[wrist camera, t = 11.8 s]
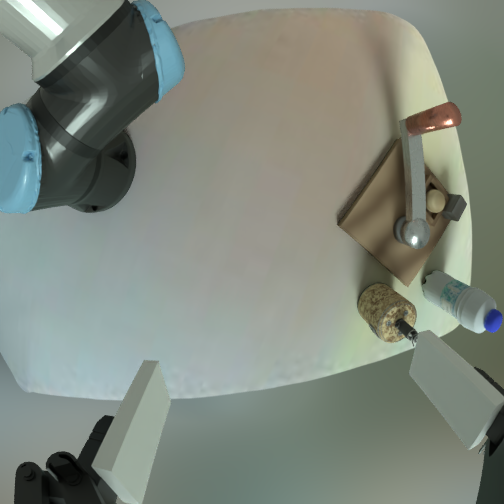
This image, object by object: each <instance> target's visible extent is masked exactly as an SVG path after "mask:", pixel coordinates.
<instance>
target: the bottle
mask: <svg viewBox="0 0 504 504" xmlns="http://www.w3.org/2000/svg"><path fill="white" fill-rule="evenodd" d="M425 279H426V283H425V284H423V285H422V289H423V291H424V297H425V298H426V299H427V300H428V301H429V302H431V303H433V304H434V305H436V306H438V307H440V308H442V309H443V310H445V311H446V312H448V313H449V314H450V315H452V316H453V317H455V318H456V319H457V320H458V322H459V323H460V324H462V325H463V327H465V328H467V329H469V330H472V331H474V332H476V333H482V332H483V331H485V330H488V331H489V332H492V333H493V332H495V331H497V330H498V329H499V327H500V325H501V323H502V314H501V313H500V312H499V311H498V310H496V303H495V300H494V299H493V298H492V297H490V296H489V295H488V294H487V293H485V292H484V291H483V290H480V289H478V288H472V287H470V286H468V285H466V284H464V283H462V282H460V281H458V280H456V279H454V278H453V277H451V276H450V275H448V274H446V273H444V272H441V271H433V272H432V274H431V275H427V276H426V277H425Z"/></svg>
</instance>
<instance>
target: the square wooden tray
mask: <svg viewBox="0 0 504 504" xmlns="http://www.w3.org/2000/svg"><path fill="white" fill-rule="evenodd" d="M424 170H425V191H426V193H427V192H428V191H430V190H434V189H435V190H438V191H440V192H441V193H442V194H443V195H444V197H445V206H444V208H443V210H442V211H440V212H438V213H433V212H431V211H429V210H428V209H427V208H426V222H427V223H428V225H429V227H430V238H429V241H428V243H427V244H426V245H425V246H424V247H423V248H421V249H415V248H412V247H410V246H407V245H405V244H404V243H403V241H402V239H401V235H400V231H401V226H402V224H403V222H404V221H405V220H406V195H405V173H404V159H403V148H402V139H401V138H400V139H396V141H395V143H394V144H393V146H392V147H391V149H390V150H389V152H388V153H387V155H386V156H385V158H384V159H383V161H382V162H381V164H380V165H379V167H378V168H377V170H376V171H375V173H374V174H373V176H372V177H371V178H370V180H369V181H368V183H367V184H366V186H365V187H364V189H363V190H362V191H361V193H360V194H359V196H358V197H357V199H356V200H355V201H354V203H353V204H352V206H351V207H350V208H349V210H348V211H347V213H346V214H345V215H344V217H343V218H342V219H341V221H340V222H339V224H338V226H339V227H340V228H341V229H343V230H344V231H345V232H346V233H347V234H349V235H350V236H351V237H352V238H353V239H354V240H356V241H357V242H358V243H359V244H360V245H361V246H362V247H364V248H365V249H366V250H367V251H368V252H369V253H370V254H371V255H373V256H374V257H375V258H376V259H377V260H378V261H379V262H380V263H381V264H383V265H384V266H385V267H386V268H387V269H388V270H389V271H390V272H391V273H392V274H393V275H394V276H395V277H397V278H398V279H399V280H400V281H401V282H402V283H403V284H404V285H405V286H407V287H408V286H409V285H410V283H411V282H412V280H413V279H414V278H415V276H416V275H417V273H418V272H419V270H420V269H421V267H422V266H423V264H424V263H425V261H426V260H427V258H428V257H429V255H430V254H431V252H432V251H433V249H434V247H435V246H436V244H437V243H438V241H439V239H440V238H441V236H442V234H443V233H444V231H445V229H446V227H447V226H448V224H449V222H450V220H454V221H459V219H460V217H461V215H462V213H463V211H464V209H465V208H466V206H467V203H466V202H465V200H464V199H463V197H462V196H461V195H454V194H449V193H448V192H447V191H446V189H445V188H444V187H443V186H442V184H441V183H440V182H439V181H438V179H437V178H436V177H435V176H434V174H433V173H432V172H431V171H430V170H429V168H428V167H427V166H426V165H425V164H424Z"/></svg>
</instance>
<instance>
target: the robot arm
mask: <svg viewBox="0 0 504 504" xmlns="http://www.w3.org/2000/svg"><path fill="white" fill-rule="evenodd" d="M0 34H2V35H3V36H4V37H5V38H7V39H8V40H9V41H10V42H12V43H13V44H14V45H15V46H17V47H18V48H19V49H20V50H22V51H23V52H24V53H26V54H27V55H28V56H29V57H31V59H32V80H34V82H36V83H37V84H39V85H40V88H39V89H38V90H37V92H36V93H35V94H34V95H33V96H32V98H31V99H30V100H29V101H28V103H27V104H26V105H24V104H21V103H17V104H13V105H11V106H9V107H6V108H4V109H3V110H2V111H1V112H0V211H1V212H4V213H22V214H25V213H28V212H30V211H34V210H40V209H46V208H52V207H58V206H65V205H68V206H70V207H72V208H74V209H76V210H78V211H81V212H86V213H95V212H100V211H104V210H107V209H109V208H111V207H113V206H114V205H116V204H117V203H118V202H119V201H120V200H121V199H122V198H123V197H124V196H125V194H126V193H127V191H128V190H129V188H130V186H131V183H132V181H133V178H134V174H135V168H136V155H135V150H134V147H133V144H132V142H131V140H130V138H129V137H128V135H127V134H126V133H125V132H124V131H123V130H124V129H125V128H126V127H127V126H128V125H129V124H130V123H131V122H132V121H134V120H135V119H136V118H137V117H138V116H139V115H140V114H142V113H143V112H144V111H145V110H146V109H147V108H149V107H150V106H151V105H152V104H153V103H158V102H159V101H160V100H161V98H162V97H163V95H165V94H166V93H167V92H168V91H169V90H171V89H172V88H173V87H174V86H175V85H177V84H178V83H179V82H180V81H181V79H182V78H183V75H184V71H185V63H184V58H183V55H182V52H181V49H180V47H179V45H178V43H177V40H176V38H175V36H174V35H173V33H172V31H171V29H170V27H169V26H168V24H167V23H166V22H165V21H163V20H162V17H161V15H160V14H159V12H158V10H157V9H156V8H155V7H154V6H153V5H152V4H151V3H150V2H148V1H146V0H138V1H133V2H132V3H131V4H130V2H129V1H128V0H0ZM409 375H410V376H411V377H412V378H413V379H414V381H415V382H416V383H417V384H418V386H419V387H420V388H421V389H422V390H423V392H424V393H425V394H426V396H427V397H428V398H429V399H430V401H431V402H432V403H433V404H434V406H435V407H436V408H437V409H438V411H439V412H440V413H441V415H442V416H443V417H444V418H445V420H446V421H447V422H448V423H449V425H450V426H451V427H452V429H453V430H454V432H455V433H456V434H457V436H458V437H459V438H460V440H461V441H462V442H463V444H464V445H465V446H466V448H467V449H468V450H470V449H471V448H473V447H475V446H476V445H478V444H479V443H480V442H481V441H482V439H483V438H484V436H485V435H487V436H488V439H487V441H486V442H485V443H484V445H483V446H482V448H481V449H480V450H479V453H478V454H480V453H481V452H482V451H483V449H484V448H485V451H484V453H483V454H484V464H483V470H482V477H481V482H480V487H479V492H478V497H477V501H476V504H504V389H503V388H502V387H501V386H500V385H498V384H497V383H496V382H494V380H493V379H492V378H490V377H489V375H487V374H486V373H485V372H484V371H483V370H481V369H479V368H476V367H474V368H473V367H472V366H471V365H470V364H468V363H467V362H466V361H465V360H464V359H463V358H462V357H461V356H459V355H458V354H457V353H456V352H455V351H454V350H453V349H451V348H450V347H449V346H448V345H447V344H446V343H444V342H443V341H442V340H441V339H440V338H439V337H437V336H436V335H435V334H434V333H433V332H432V331H430V330H427V331H423V332H419V334H418V339H417V343H416V348H415V352H414V356H413V360H412V364H411V368H410V371H409ZM170 404H171V401H170V397H169V394H168V391H167V388H166V385H165V381H164V378H163V375H162V371H161V368H160V364H159V361H148V360H144V361H143V363H142V365H141V367H140V369H139V371H138V373H137V374H136V376H135V378H134V380H133V382H132V384H131V386H130V388H129V390H128V392H127V394H126V396H125V398H124V399H123V401H122V403H121V405H120V407H119V409H118V411H117V413H116V415H115V417H113V416H107V415H105V416H104V417H102V418H101V419H100V420H99V421H98V422H97V423H96V425H95V427H94V429H93V432H92V433H91V434H90V436H89V439H88V440H87V442H86V444H85V446H84V447H83V449H82V451H81V454H80V455H79V457H78V459H76V458H75V457H74V456H73V455H72V454H70V453H68V452H56V453H54V454H52V455H51V456H50V457H49V458H48V460H47V462H46V469H47V470H48V471H43V470H42V469H41V468H40V467H39V466H38V465H37V464H35V463H33V462H24V463H23V464H21V465H20V466H19V467H18V468H17V471H16V477H15V495H14V504H116V499H117V496H118V497H119V498H120V499H121V500H122V501H123V502H126V503H130V504H142V502H143V498H144V494H145V490H146V486H147V483H148V479H149V476H150V472H151V468H152V465H153V461H154V458H155V454H156V451H157V447H158V444H159V440H160V437H161V434H162V430H163V427H164V423H165V420H166V417H167V413H168V410H169V407H170Z"/></svg>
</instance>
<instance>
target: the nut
mask: <svg viewBox="0 0 504 504" xmlns="http://www.w3.org/2000/svg"><path fill="white" fill-rule="evenodd" d="M444 206H445V197H444V195H443V194H442V193H441V192H440V191H438V190H435V189H434V190H430V191H428V192H427V193H426V208H427V209H428V210H429V211H431V212H433V213H438V212H440V211H442V210H443V208H444Z"/></svg>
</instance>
